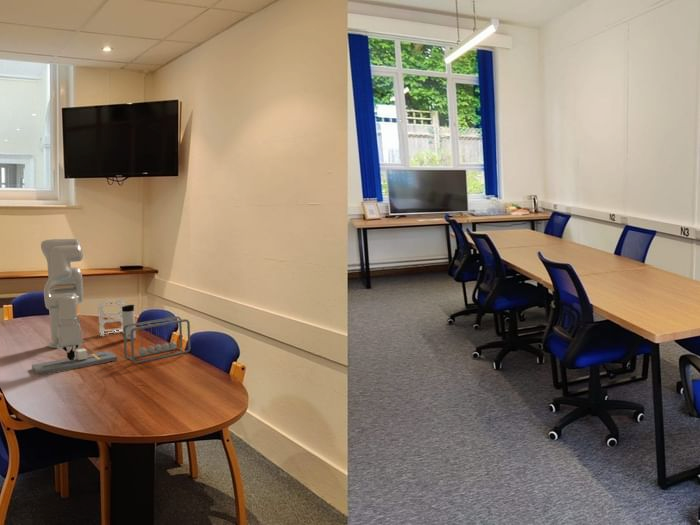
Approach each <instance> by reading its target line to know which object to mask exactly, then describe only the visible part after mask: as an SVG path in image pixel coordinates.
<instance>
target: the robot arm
mask: <svg viewBox="0 0 700 525" xmlns="http://www.w3.org/2000/svg"><path fill="white" fill-rule="evenodd" d="M40 248H41V252H42V254H43V256H44V257H45V259H46V262H47V263H46V265H47V276H48V277H47V278H48V280H47V281H46V283H45V285H44V287H43V298H44V299H43V300H44V305H45V306H44V307H45V308H46V309H47V310H48V312H49V322H50V327H49V328H50V337H51V338H50V339H51V342H50V343H49V344H47V345H48V348H50V349H57V350H61V351H62V350H63V351H65V352H66V357H67V358H69V360H74V357H76V355H75V350H77V349H79V348H80V347H82V346H83V345H84V343H83V334H82V329H81V325H80V324H81V323H79V322H81V321H82V318H81V317H78V305H79V304H81V303H83V301H84V283H83V280H84V279H83V273H82V270H81V269H80V268H78V267H72V265H71V263H75V262H81V261H82V260H83V258H84V253H83V249H82V248H83V247H82V245H81V244H80V242H79V240H78V239H77V238H57V239H56V238H55V239H45V240H43V241H41V243H40ZM64 286H65V287H64ZM66 286H67V287H66ZM52 287H55V288H52ZM56 287H57V288H56ZM70 347H71V348H70ZM67 358H66V359H67Z"/></svg>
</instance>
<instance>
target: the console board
mask: <svg viewBox="0 0 700 525" xmlns="http://www.w3.org/2000/svg"><path fill="white" fill-rule="evenodd" d="M87 358H88V359H82V360H78V359H76V356H75V357H74V360H69V358H62V359H56V360H52V361H46V362H41V363H34V364H31V370H32V369H33V370H32V371H33V373H35V375H37V377H41V376H45V374H46V375H50V374H49V373H51V374H54V373H53V372H56V373H59V372H58V371H61V372H64V371H63V370H66V371H69V370H68V369H71V370H74V369H73V368H76V369H79V368H78V367H81V368H85V367H84V366H86V367H90V366H89V365H91V366H95V365H94V364H96V365H100V364H99V363H102V364H105V362H107V363H111V362H110V361H112V362H117V361H118V355H116V354H115V353H113V352H111V351H110V350H105V351H99V352H95V353H89V354H87ZM116 360H117V361H116Z"/></svg>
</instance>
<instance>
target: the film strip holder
mask: <svg viewBox="0 0 700 525" xmlns="http://www.w3.org/2000/svg"><path fill="white" fill-rule="evenodd" d="M119 302H120V303H119ZM109 303H110V304H109ZM113 303H114V304H113ZM107 306H108V307H109V306H119V307H120V309H119V311H115V312H114V311H113V312H106V313H105V312H104V310H103V309H104V307H107ZM124 306H126V305H125V302H124V299H114V300H106V301H105V300H104V301H98V305H97V313H98V314H99V315H98V323H99V326H98V331H99V336H100V337H101V336H102V337H103V336H105V335H104V334H106V335H110V334H109V333H114V334H121V333H120V332H122V333H123V317H122V307H124ZM117 315H120V317H119V318H117ZM111 316H113V318H111ZM105 317H107V319H105ZM113 322H115V323H117V322H120V324H121V326H120V327H119V328H118V327H117V328H110V329H109V328H108V329H106V328H105V327H104V325H106V323H113ZM116 330H119V331H116ZM104 331H112V332H108V333H104ZM114 331H115V332H114ZM100 333H101V334H100Z"/></svg>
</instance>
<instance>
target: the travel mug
mask: <svg viewBox="0 0 700 525" xmlns="http://www.w3.org/2000/svg"><path fill="white" fill-rule="evenodd" d="M122 317H123V328H124V326H125V325H128V324H134V323H136V322H135V320H136V319H135V304H128V305H125V306H124V307H122ZM131 327H133V328H136V326H131ZM131 327H127V328H126V342H127V341H128V340H129V341H131V330H132V329H133V328H131ZM136 336H137V335H136V330H135V331H134V332H133V341H135V339H136Z"/></svg>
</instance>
